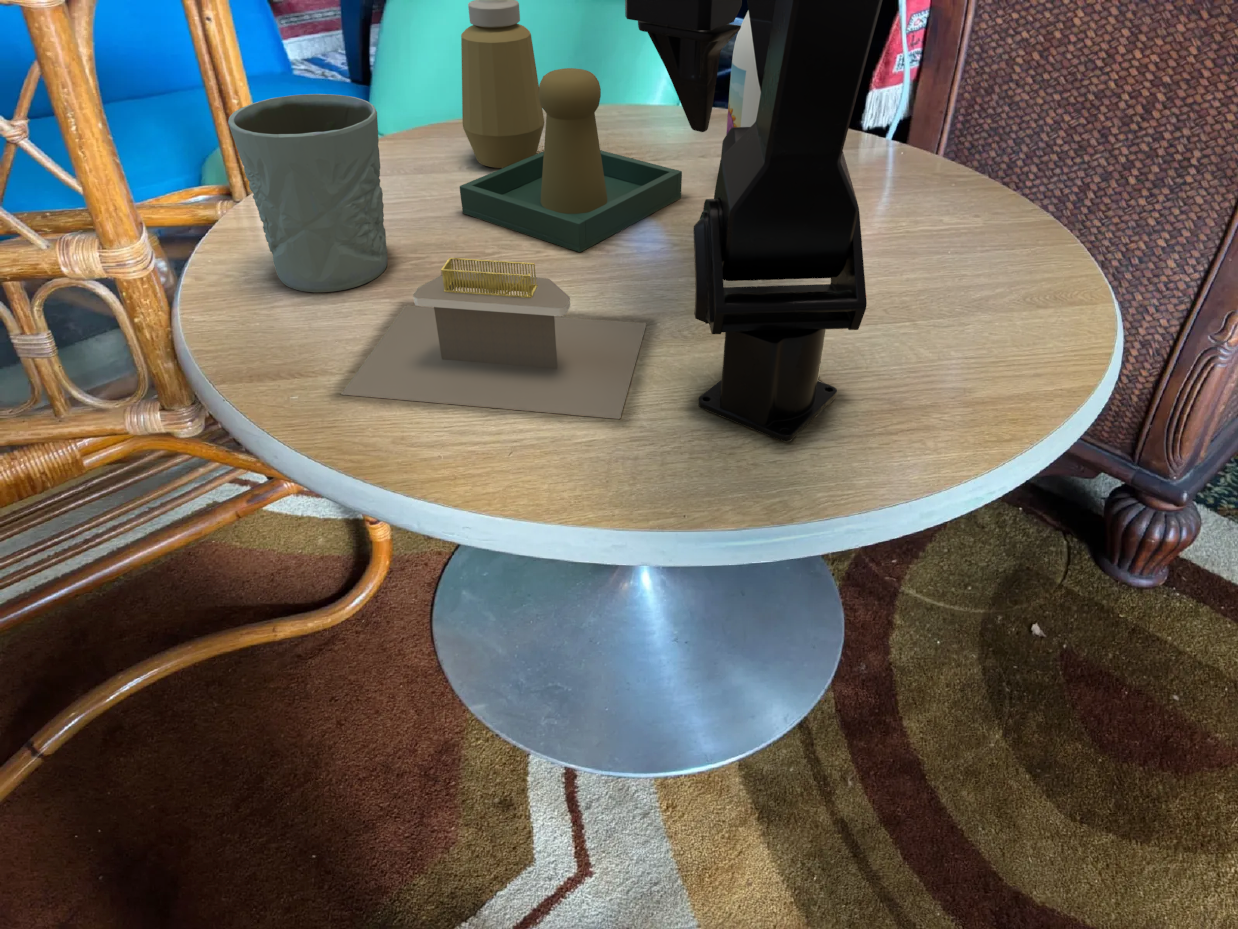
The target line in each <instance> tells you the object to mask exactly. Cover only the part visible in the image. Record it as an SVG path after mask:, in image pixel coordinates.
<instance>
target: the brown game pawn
mask: <svg viewBox="0 0 1238 929" xmlns="http://www.w3.org/2000/svg"><path fill="white" fill-rule="evenodd" d="M601 89H602V88H601V85H600V81H599V80H598V78H597V76H596V74H594V73H593V72H591V71H589V70H587V69H583V68H575V67H566V68H559V69H554V70H551V71H549V72H546V74H544V75H543V76H542V78H541V80H540V82H539V91H538V92H539V100H540V104H541V106H542V110H543V112H545V113H546V117H545V128H544V129H545V130H544V132H545V133H544V146H543V151H544V158H543V172H542V187H541V201H540V202H541V204H542V206H543V207H545V208H546V209H549V210H552V211H555V212H559V213H565V214H578V213H587V212H591V211H593V210H595V209H597V208H599V207H601V206H603V205H605V204H606V203H607V192H606V186H605V179H604V172H603V166H602V159H601V152H600V150H601V146H600V140H599V132H598V125H597V119H596V111H597V109H598V108H599V106H600V101H601V98H602V95H601V94H602V92H601V91H602V90H601Z"/></svg>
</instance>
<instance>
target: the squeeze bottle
mask: <svg viewBox="0 0 1238 929" xmlns="http://www.w3.org/2000/svg"><path fill="white" fill-rule="evenodd" d="M467 7H468V17H469V18H468V19H469V23H470V26H468V27H467V28H465V29H464V30H463V32H462V33H461V35H460V38H461V41H460V42H461V43H460V44H461V46H460V47H461V49H460V50H461V114H462V117H461V118H462V121H461V122H462V128H463V131H464V133H465V136H466V137H467V140H468V142H469V145H470V147H471V149H472V152H473V154H474V156H475V158H476V161H477V162H478V163H479V164H480V165H482V166H486V167H489V168H496V169H502V168H504V167H507V166H509V165H512V164H514V163H517V162H519V161H521V160H524V159H526V158H529V157H531V156H533V155H536V154H538V149H539V146H540V142H541V139H542V135H543V130H544V127H545V117H544V109H543V108H542V106H541V104H540V100H539V92H538V91H539V85H540V83H539V79H538V78H539V77H538V70H537V65H536V58H535V50H534V46H533V39H532V38H533V37H532V34H531V31H530V30H529V29H528V28H527V27H526V26H524V25H522V24H520V21H521V13H520V11H521V10H520V3H519V1H518V0H471V1H470V2H468V3H467Z"/></svg>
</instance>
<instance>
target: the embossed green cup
mask: <svg viewBox="0 0 1238 929" xmlns="http://www.w3.org/2000/svg"><path fill="white" fill-rule="evenodd" d="M227 120H228V121H227V123H228V127H229V129H230V133H231V136H232V138H233V141H234V144H235V147H236V150H237V153H238V156H239V159H240V161H241V163H242V166H243V171H244V174H245V178H246V179H247V181H248V182H249V183H248V188H249V190H250V191H251V193H252V199H253V200H254V204H255V207H256V208H257V211H258V215H259V216H258V217H259V218H260V221H261V222H262V229H263V232H264V236H265V240H266V242H267V245H268V249H269V252H271V254H272V263H273V266H274V270H275V272H276V275H277V277H278V279H279V280H280V282H281V283H282V284H283V285H284V286H286V287H288V288H290V289H293V290H296V291H300V292H308V293H332V292H340V291H345V290H350V289H353V288H357V287H360V286H363V285H365V284H367V283H370V282H372V281H374V280H375V279H376V278H378V277H380V276H381V275H382V274H383V273H384V272H385V271H386V268H387V266H388V259H389V258H388V248H387V247H388V246H387V234H386V228H385V226H384V221H385V219H384V217H385V214H384V202H383V196H384V195H383V194H384V193H383V189H382V187H381V179H380V176H381V158H380V147H379V143H380V142H379V140H380V139H379V123H378V111H377V109H376V107H375V105H373V104H372V103H371V102H370V101H367V100H365V99H362V98H360V97H356V96H350V95H343V94H329V93H327V94H326V93H308V94H293V95H285V96H284V95H283V96H278V97H271V98H267V99H263V100H259V101H256V102H253V103H249V104H247V105H245V106H242V107H240V108H238V109H236V110H235V111H233V112H232V113H231V115H230V116H229V117H228V119H227Z"/></svg>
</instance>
